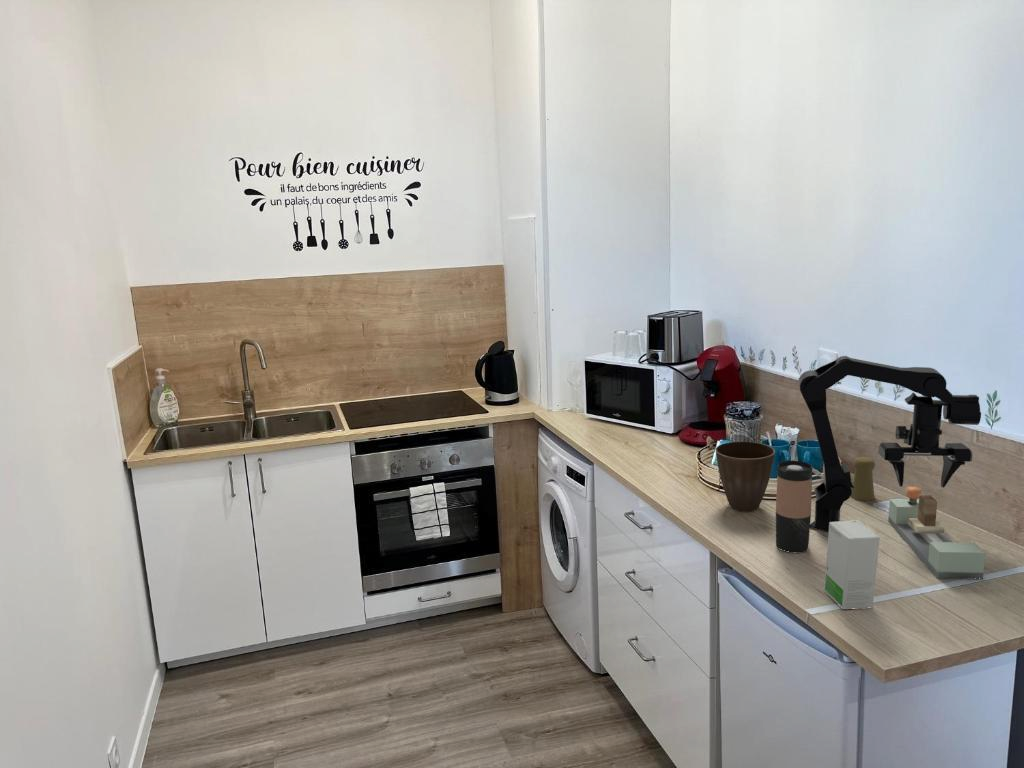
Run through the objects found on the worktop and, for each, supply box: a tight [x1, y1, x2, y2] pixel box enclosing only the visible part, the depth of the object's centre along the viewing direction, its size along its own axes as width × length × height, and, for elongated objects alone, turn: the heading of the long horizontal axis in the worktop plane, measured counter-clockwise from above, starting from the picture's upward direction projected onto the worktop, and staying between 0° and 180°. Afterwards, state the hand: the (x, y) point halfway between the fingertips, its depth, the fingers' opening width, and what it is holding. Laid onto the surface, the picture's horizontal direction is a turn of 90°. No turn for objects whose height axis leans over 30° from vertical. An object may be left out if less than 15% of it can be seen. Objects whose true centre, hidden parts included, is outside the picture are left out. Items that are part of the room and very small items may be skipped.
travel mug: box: [775, 460, 813, 553], centre depth 176 cm, size 8×8×20 cm
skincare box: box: [823, 519, 881, 609], centre depth 152 cm, size 8×7×16 cm
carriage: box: [908, 494, 945, 534], centre depth 176 cm, size 5×6×8 cm
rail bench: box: [887, 498, 986, 580], centre depth 173 cm, size 30×9×6 cm, turn 172°
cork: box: [849, 456, 876, 502], centre depth 205 cm, size 6×6×11 cm
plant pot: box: [715, 441, 776, 513], centre depth 201 cm, size 15×15×16 cm
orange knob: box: [905, 485, 922, 505], centre depth 184 cm, size 3×3×4 cm
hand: (921, 486), depth 179 cm, fingers open, 9 cm apart
